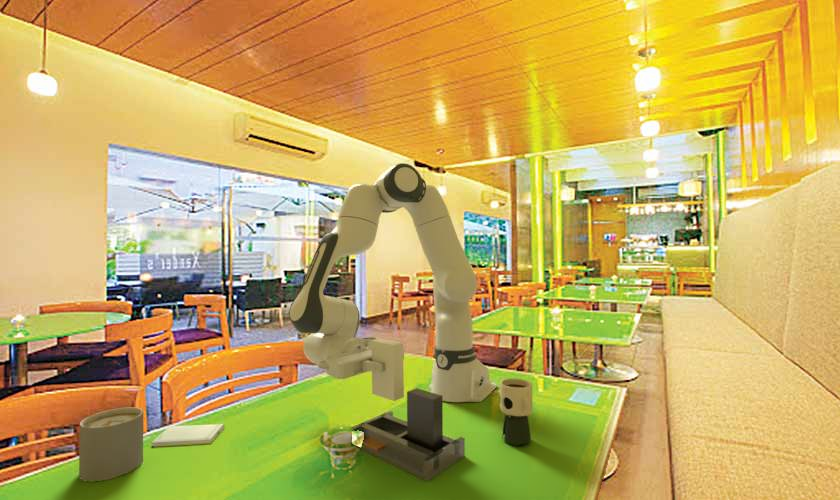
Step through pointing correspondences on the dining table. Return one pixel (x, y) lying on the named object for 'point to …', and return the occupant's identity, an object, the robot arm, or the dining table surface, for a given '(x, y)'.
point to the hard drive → (188, 435)
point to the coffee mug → (110, 443)
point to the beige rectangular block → (388, 369)
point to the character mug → (516, 409)
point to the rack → (413, 437)
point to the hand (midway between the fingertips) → (390, 365)
